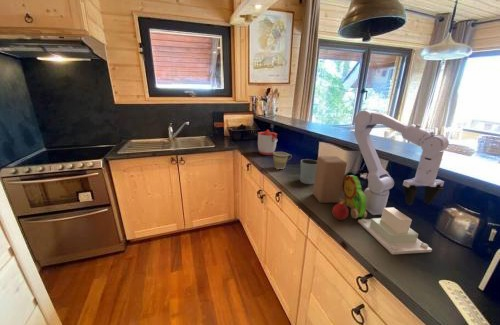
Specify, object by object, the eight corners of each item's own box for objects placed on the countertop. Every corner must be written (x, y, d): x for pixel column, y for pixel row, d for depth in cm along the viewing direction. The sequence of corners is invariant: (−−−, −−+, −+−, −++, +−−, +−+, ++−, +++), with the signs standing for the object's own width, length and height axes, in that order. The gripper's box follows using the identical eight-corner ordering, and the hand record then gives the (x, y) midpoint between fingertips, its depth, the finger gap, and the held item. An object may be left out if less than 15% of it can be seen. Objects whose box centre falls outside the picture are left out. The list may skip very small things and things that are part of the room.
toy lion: (366, 220, 86) (375, 185, 81) (354, 220, 85) (361, 185, 80) (346, 201, 101) (352, 171, 96) (335, 201, 100) (340, 171, 95)
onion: (342, 215, 88) (346, 198, 85) (349, 223, 82) (353, 205, 80) (329, 215, 88) (332, 198, 85) (334, 223, 82) (338, 205, 80)
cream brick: (380, 219, 79) (383, 207, 77) (390, 219, 79) (393, 207, 78) (397, 233, 71) (401, 220, 70) (408, 232, 72) (412, 219, 70)
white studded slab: (358, 221, 84) (360, 212, 83) (390, 220, 86) (392, 211, 84) (392, 254, 67) (395, 244, 66) (431, 251, 69) (435, 241, 68)
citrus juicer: (269, 157, 164) (271, 132, 158) (253, 153, 175) (254, 129, 169) (281, 154, 175) (283, 130, 169) (264, 150, 186) (266, 127, 180)
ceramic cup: (275, 170, 136) (276, 156, 133) (270, 165, 146) (271, 151, 143) (293, 170, 139) (295, 155, 136) (287, 165, 149) (289, 151, 146)
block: (340, 203, 98) (348, 162, 92) (319, 203, 97) (325, 162, 91) (331, 193, 107) (337, 155, 101) (311, 193, 107) (317, 155, 101)
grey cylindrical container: (312, 186, 115) (315, 165, 112) (295, 181, 121) (297, 161, 117) (319, 180, 123) (321, 161, 119) (302, 176, 129) (305, 157, 125)
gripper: (419, 173, 71) (408, 209, 75) (457, 172, 72) (445, 208, 76) (402, 166, 77) (393, 200, 81) (437, 166, 79) (427, 199, 83)
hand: (417, 203), depth 79 cm, fingers open, 7 cm apart
